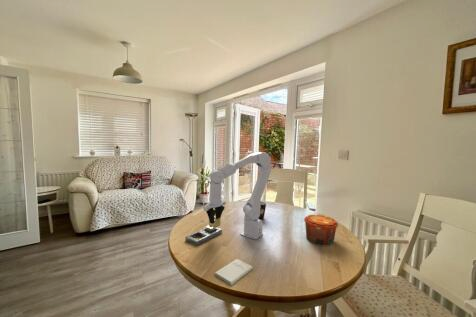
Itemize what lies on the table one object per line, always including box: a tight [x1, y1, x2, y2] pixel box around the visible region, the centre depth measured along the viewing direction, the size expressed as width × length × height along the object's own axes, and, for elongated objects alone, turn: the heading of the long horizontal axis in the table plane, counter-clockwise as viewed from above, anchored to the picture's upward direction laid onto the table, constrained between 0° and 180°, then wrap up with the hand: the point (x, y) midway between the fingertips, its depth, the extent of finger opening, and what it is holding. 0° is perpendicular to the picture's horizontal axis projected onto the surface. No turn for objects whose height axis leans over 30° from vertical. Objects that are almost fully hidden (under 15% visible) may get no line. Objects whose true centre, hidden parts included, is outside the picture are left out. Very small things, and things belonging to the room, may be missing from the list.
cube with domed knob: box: [204, 224, 216, 233], centre depth 108 cm, size 4×4×4 cm
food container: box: [303, 214, 339, 246], centre depth 105 cm, size 16×16×11 cm
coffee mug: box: [258, 200, 267, 221], centre depth 134 cm, size 12×9×10 cm
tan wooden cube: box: [208, 216, 221, 228], centre depth 103 cm, size 4×4×4 cm
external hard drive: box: [214, 258, 254, 286], centre depth 77 cm, size 2×8×12 cm
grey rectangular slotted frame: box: [185, 227, 223, 246], centre depth 105 cm, size 8×18×2 cm, turn 145°
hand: (214, 221), depth 103 cm, fingers closed on tan wooden cube, 4 cm apart
